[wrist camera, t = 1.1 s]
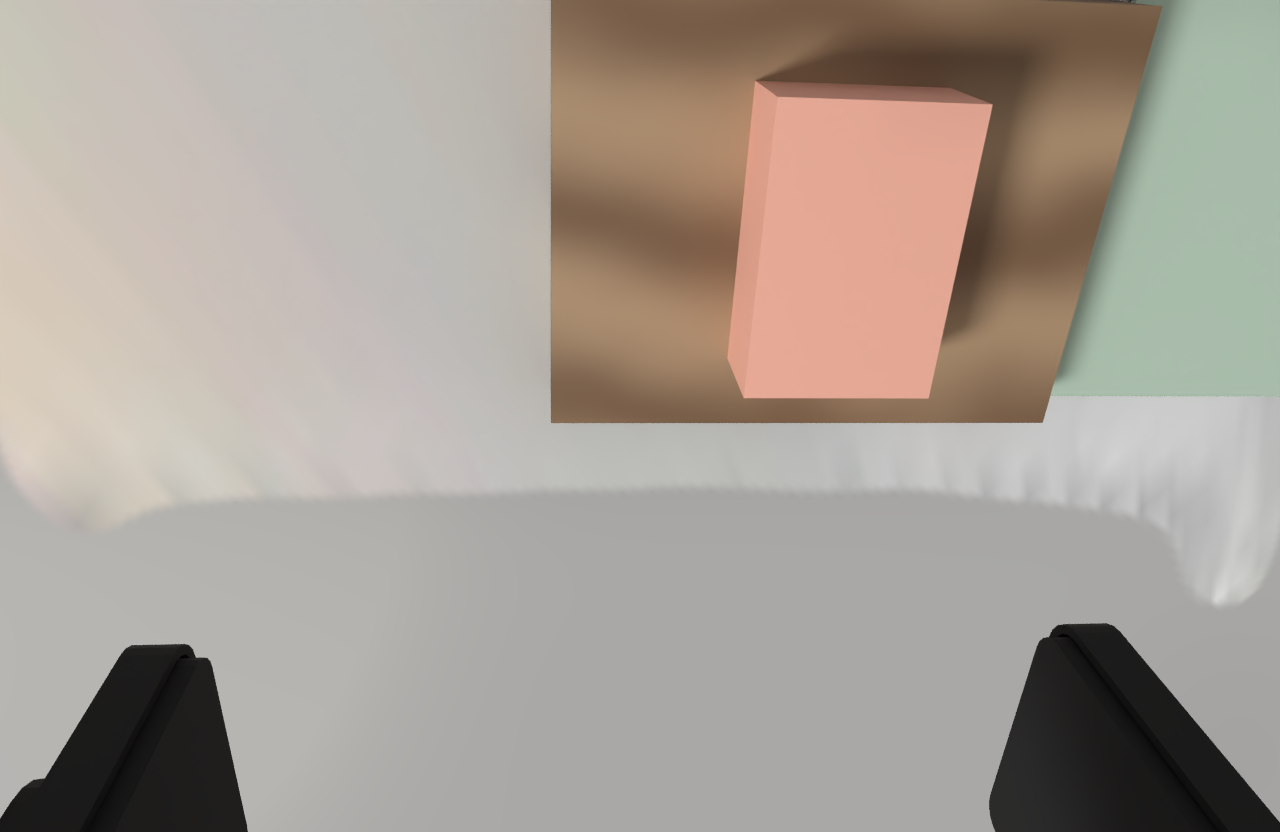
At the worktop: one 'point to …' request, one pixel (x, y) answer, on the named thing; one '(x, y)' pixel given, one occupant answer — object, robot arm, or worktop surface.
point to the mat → (1190, 219)
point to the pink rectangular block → (851, 237)
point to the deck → (715, 179)
